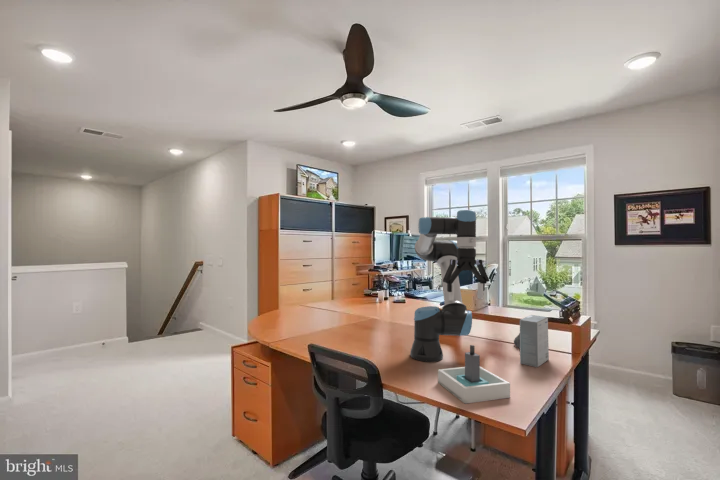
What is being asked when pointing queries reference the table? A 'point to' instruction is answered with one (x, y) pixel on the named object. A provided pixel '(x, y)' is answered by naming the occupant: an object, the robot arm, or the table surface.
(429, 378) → the table surface
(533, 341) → the hard drive box
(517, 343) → the mineral rock
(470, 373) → the connector plug
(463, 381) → the walled box
